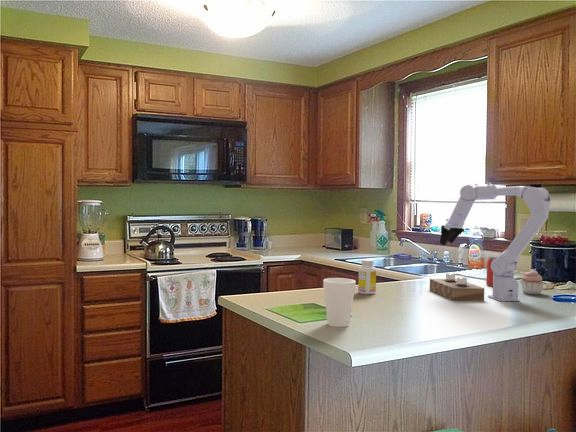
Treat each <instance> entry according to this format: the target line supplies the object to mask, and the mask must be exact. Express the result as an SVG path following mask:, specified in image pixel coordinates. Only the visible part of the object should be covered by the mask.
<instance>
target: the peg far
mask: <svg viewBox="0 0 576 432" xmlns="http://www.w3.org/2000/svg"><path fill="white" fill-rule="evenodd" d="M445 279H446V282H455V279H456V273H451V272H446V273H445Z"/></svg>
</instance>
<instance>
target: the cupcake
mask: <svg viewBox="0 0 576 432" xmlns="http://www.w3.org/2000/svg"><path fill="white" fill-rule="evenodd" d="M519 283H520V284H521V290H522V292H523V294H525V295H530V296H531V295H532V296H536V295H537V296H538V295H541V293H542V289H543V287H544V285H545V281H543V277H542V276H541V275H540V274H539V273H538V271H537V270H536V269H533V268H531V269H530V271H528V272H525V273H524V274H523V275H522V276H521V280H519Z"/></svg>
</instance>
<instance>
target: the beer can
mask: <svg viewBox="0 0 576 432" xmlns="http://www.w3.org/2000/svg"><path fill="white" fill-rule="evenodd" d="M496 258H498V257H497V256H496V257H492V256H491V257H489V256H488V259H487V262H486V284H485V285H486V286H488V287H492V288H493V275H494V274H493V273H494V272H493V271H492V270H491V263H492V261H493V260H494V259H496Z"/></svg>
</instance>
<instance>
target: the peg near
mask: <svg viewBox="0 0 576 432" xmlns="http://www.w3.org/2000/svg"><path fill="white" fill-rule="evenodd" d="M456 279H457V286H459V287H467V282H468V277H466V276H465V277H464V276H456Z"/></svg>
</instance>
